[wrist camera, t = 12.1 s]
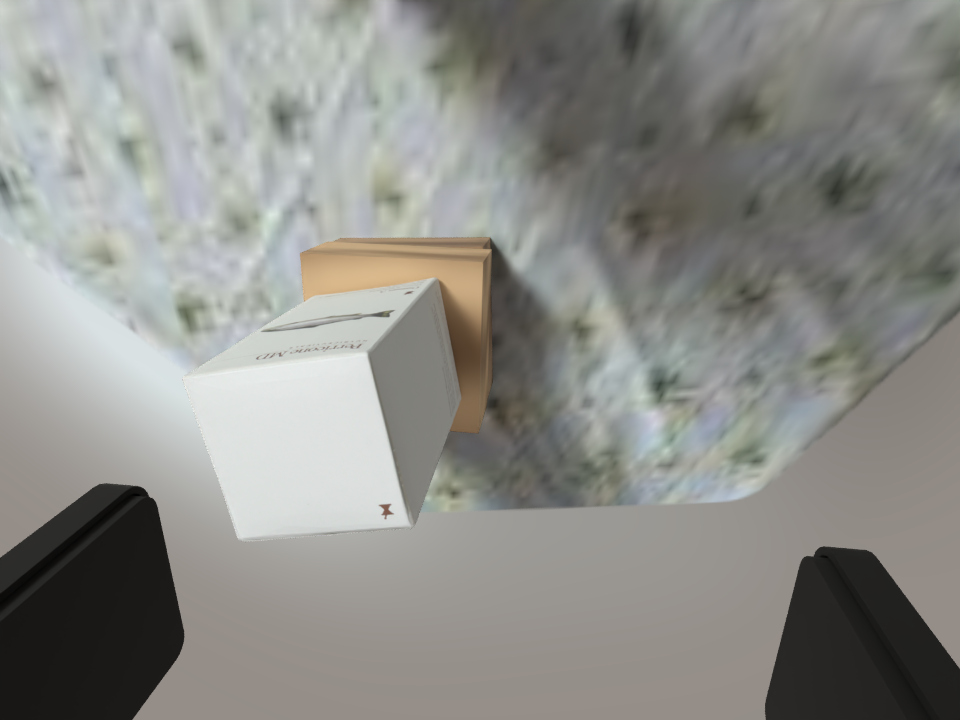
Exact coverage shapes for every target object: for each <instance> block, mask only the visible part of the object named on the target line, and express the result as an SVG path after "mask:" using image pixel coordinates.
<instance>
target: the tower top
mask: <svg viewBox="0 0 960 720" xmlns="http://www.w3.org/2000/svg"><path fill="white" fill-rule="evenodd" d="M491 256H492V249H472V248H451V247H430V246H409V245H387V244H366V243H345V242H326V243H323V244H321V245H318V246H316V247H314V248H311V249H309V250H307V251H304V252H302V253H300V259H301V271H302V283H303V295H304V301H306V300H308V299H309V298H311V297H313V296H315V295H325V294H334V293H342V292H350V291H357V290H365V289H372V288H379V287H386V286H392V285H398V284H404V283H409V282H414V281H419V280H424V279H429V278H434V277H436V278H438V280H439V284H440V289H441V294H442V299H443V305H444V310H445V315H446V320H447V326H448V330H449V335H450V341H451V346H452V351H453V356H454V362H455V367H456V371H457V377H458V382H459V387H460V392H461V401H460V404H459V407H458V409H457V412H456V415H455V417H454V420H453V423H452V426H451V428H450V431H455V432H467V433H479V430H480V427H481V423H482V420H483V417H484V413H485V410H486V406H487V386H488V353H489V321H490V288H491Z"/></svg>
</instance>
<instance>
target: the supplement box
mask: <svg viewBox="0 0 960 720" xmlns="http://www.w3.org/2000/svg"><path fill="white" fill-rule="evenodd" d="M182 380H183V383H184V385H185V388H186V391H187V394H188V397H189V399H190V402H191V405H192V408H193V411H194V414H195V417H196V419H197V422H198V425H199V428H200V430H201V433H202V436H203V439H204V442H205V444H206V447H207V450H208V453H209V456H210V458H211V461H212V464H213V467H214V469H215V472H216V474H217V477H218V480H219V483H220V486H221V489H222V492H223V495H224V499H225V502H226V505H227V508H228V511H229V514H230V517H231V519H232V523H233V526H234V529H235V532H236V535H237V538H238V539H239V540H241V541H261V540H270V539H283V538H296V537H307V536H327V535H337V534H345V533H357V532H370V531H383V530H396V529H412V528H413V527H414V526H415V524H416V521H417V519H418V516H419V513H420V510H421V507H422V505H423V502H424V499H425V496H426V494H427V491H428V488H429V486H430V483H431V480H432V477H433V475H434V472H435V469H436V466H437V464H438V461H439V458H440V456H441V453H442V450H443V447H444V445H445V442H446V439H447V436H448V434H449V431H450V428H451V426H452V423H453V420H454V417H455V415H456V412H457V409H458V407H459V404H460V401H461V392H460V387H459V382H458V377H457V371H456V367H455V362H454V356H453V351H452V346H451V341H450V335H449V330H448V326H447V320H446V315H445V310H444V305H443V299H442V294H441V289H440V284H439V280H438V278H436V277H434V278H429V279H424V280H419V281H414V282H409V283H404V284H398V285H392V286H386V287H379V288H372V289H365V290H357V291H350V292H342V293H334V294H325V295H315V296H313V297H311V298H309V299H308V300H306V301H304V302H303V303H301V304H299V305H298V306H296V307H294V308H293V309H291V310H289V311H288V312H286V313H285V314H283V315H281V316H280V317H278V318H276V319H275V320H273V321H272V322H270V323H268V324H267V325H265V326H264V327H262V328H260V329H259V330H257V331H255V332H254V333H252V334H251V335H249V336H247V337H246V338H244V339H243V340H241V341H240V342H238V343H236V344H235V345H233V346H232V347H230V348H229V349H227V350H226V351H224V352H222V353H221V354H219V355H217V356H216V357H214V358H213V359H211V360H209V361H207V362H206V363H204V364H203V365H201V366H200V367H198V368H197V369H195V370H193V371H192V372H190V373H188V374H187V375H185V376H184V377H183V379H182Z"/></svg>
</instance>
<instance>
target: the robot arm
mask: <svg viewBox="0 0 960 720" xmlns="http://www.w3.org/2000/svg"><path fill="white" fill-rule="evenodd" d="M183 642H184V629H183V624H182V620H181V615H180V610H179V606H178V601H177V596H176V592H175V587H174V582H173V578H172V573H171V569H170V563H169V559H168V555H167V549H166V545H165V540H164V535H163V531H162V526H161V522H160V517H159V512H158V507H157V504H156V502H155V501H154V499H153V498H150V497H149V496H148V493H147V492H146V490H145V489H144V488H142V487H138V486H130V485H118V484H107V483H106V484H99V485H97V486H96V487H94V488H92V489H91V490H90V491H88V492H87V493H86V494H84V495H83V496H82V497H80V498H79V499H78V500H76V501H75V502H74V503H72V504H71V505H70V506H68V507H67V508H66V509H65V510H63V511H62V512H60V513H59V514H58V515H56V516H55V517H54V518H52V519H51V520H50V521H48V522H47V523H46V524H44V525H43V526H42V527H41V528H39V529H38V530H36V531H35V532H34V533H33V534H32V535H30V536H29V537H27V538H26V539H25V540H23V541H22V542H21V543H19V544H18V545H17V546H15V547H14V548H13V549H11V550H10V551H9V552H7V553H6V554H5V555H3V556H2V557H1V558H0V720H132V719H133V718H134V717H135V715H136V714H137V712H138V711H139V710H140V708H141V707H142V706H143V704H144V703H145V702H146V700H147V699H148V697H149V696H150V695H151V693H152V692H153V691H154V689H155V688H156V687H157V685H158V684H159V683H160V681H161V680H162V678H163V677H164V676H165V674H166V673H167V672H168V670H169V669H170V668H171V666H172V665H173V663H174V662H175V661H176V659H177V658H178V656H179V654H180V652H181V649H182V646H183ZM765 715H766V720H960V669H959V667H958V666H957V665H956V663H955V662H954V661H953V659H952V658H951V657H950V655H949V654H948V653H947V651H946V650H945V648H944V647H943V646H942V644H941V643H940V642H939V640H938V639H937V638H936V636H935V635H934V634H933V632H932V631H931V630H930V628H929V627H928V626H927V624H926V623H925V622H924V620H923V619H922V618H921V616H920V615H919V614H918V612H917V611H916V610H915V608H914V607H913V606H912V604H911V603H910V602H909V600H908V599H907V598H906V596H905V595H904V594H903V592H902V591H901V589H900V588H899V587H898V585H897V584H896V583H895V581H894V580H893V579H892V577H891V576H890V575H889V573H888V572H887V571H886V569H885V568H884V567H883V565H882V564H881V563H880V561H879V560H878V559H877V558H876V556H875V555H874V554H873V553H872V552H869V551H867V550H858V549H847V548H835V547H820V548H819V549H818V550H817V551H816V552H815V555H814V557H811V556H806V557H804V558H803V559H802V561H801V564H800V567H799V570H798V574H797V578H796V582H795V587H794V590H793V594H792V598H791V602H790V606H789V610H788V614H787V618H786V622H785V626H784V630H783V634H782V638H781V642H780V646H779V650H778V654H777V658H776V662H775V666H774V670H773V674H772V678H771V682H770V686H769V690H768V694H767V698H766V703H765Z"/></svg>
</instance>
